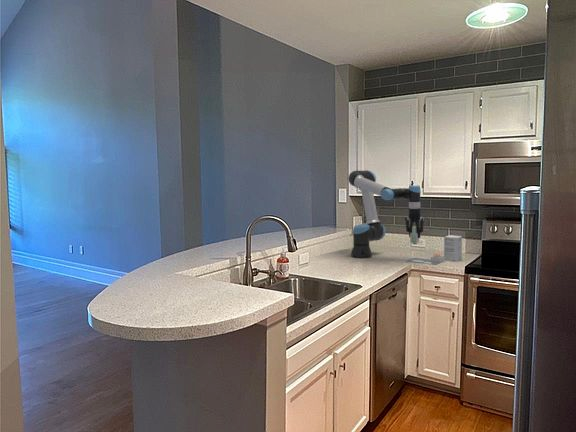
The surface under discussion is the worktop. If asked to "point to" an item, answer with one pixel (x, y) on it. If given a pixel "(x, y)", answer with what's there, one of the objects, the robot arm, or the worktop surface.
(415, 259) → the button panel board
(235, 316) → the worktop surface
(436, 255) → the button
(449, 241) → the supplement box
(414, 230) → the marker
